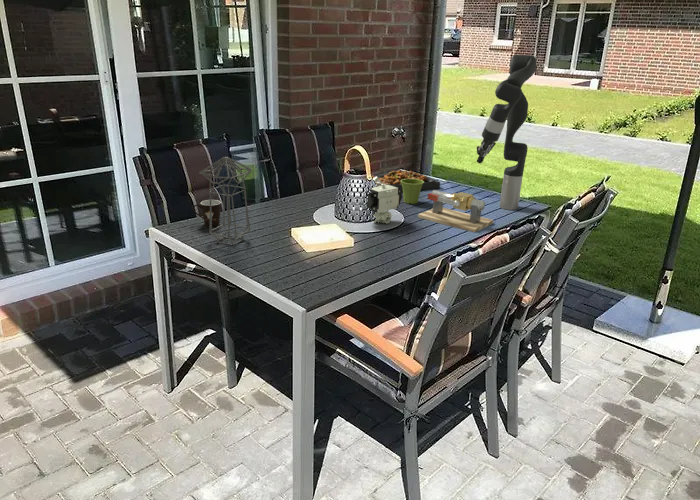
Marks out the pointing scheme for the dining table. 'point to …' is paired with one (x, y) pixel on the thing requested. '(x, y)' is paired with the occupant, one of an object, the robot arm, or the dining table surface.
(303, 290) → the dining table surface
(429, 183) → the food platter
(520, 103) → the robot arm
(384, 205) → the ball valve
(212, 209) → the coffee mug
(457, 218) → the mounting board
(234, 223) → the geometric lantern
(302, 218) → the dining table surface
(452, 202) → the valve lever
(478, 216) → the valve body
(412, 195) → the plant pot
